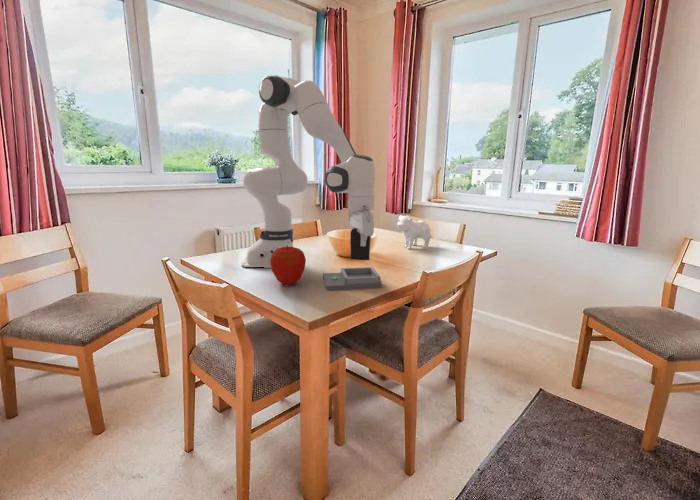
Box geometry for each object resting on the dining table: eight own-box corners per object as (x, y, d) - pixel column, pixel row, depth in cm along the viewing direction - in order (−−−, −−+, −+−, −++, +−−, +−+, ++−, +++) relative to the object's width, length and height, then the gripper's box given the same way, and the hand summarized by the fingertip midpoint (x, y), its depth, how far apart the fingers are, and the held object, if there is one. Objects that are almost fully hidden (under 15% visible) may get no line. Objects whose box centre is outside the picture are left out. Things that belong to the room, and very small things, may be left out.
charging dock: (326, 290, 121) (326, 280, 120) (323, 277, 135) (323, 268, 134) (382, 287, 124) (382, 278, 123) (373, 275, 138) (373, 266, 137)
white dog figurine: (424, 242, 193) (426, 211, 189) (439, 246, 185) (442, 213, 180) (388, 248, 179) (390, 215, 175) (403, 253, 170) (405, 218, 166)
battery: (371, 257, 129) (371, 226, 126) (369, 261, 126) (370, 228, 122) (351, 256, 131) (352, 225, 127) (349, 259, 127) (350, 227, 124)
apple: (312, 286, 125) (311, 246, 122) (279, 292, 119) (277, 250, 115) (297, 276, 135) (296, 239, 132) (266, 281, 129) (264, 243, 125)
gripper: (379, 207, 114) (377, 250, 117) (362, 200, 133) (362, 237, 137) (359, 208, 113) (359, 251, 116) (346, 201, 132) (345, 238, 135)
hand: (360, 243), depth 126 cm, fingers closed on battery, 5 cm apart
